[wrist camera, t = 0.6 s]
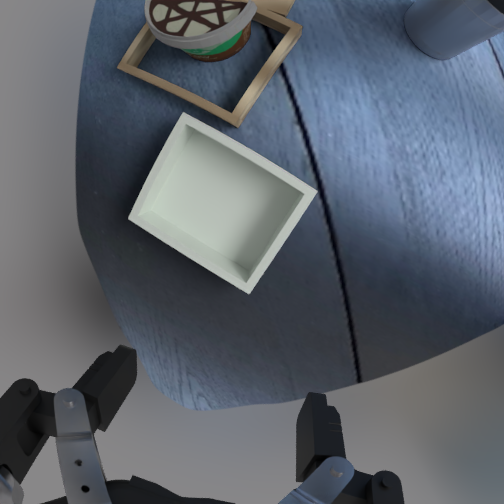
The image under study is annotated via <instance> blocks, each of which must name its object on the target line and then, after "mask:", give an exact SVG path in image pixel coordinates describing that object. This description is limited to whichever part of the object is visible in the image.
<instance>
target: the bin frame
mask: <svg viewBox="0 0 504 504" xmlns="http://www.w3.org/2000/svg"><path fill="white" fill-rule="evenodd" d="M224 1H234V2H246V3H248V1H245V0H224ZM256 6H257V10H256V13H255V15H254V16H253V18H252V20H254V21H257V22H259V23H261V24H263V25H266V26H268V27H270V28H272V29H274V30H276V31H278V32H280V33H283V34H285V36H284V38H283V39H282V40H281V42H280V43H279V45H278V46H277V47H276V49H275V50H274V51H273V53H272V54H271V56H270V57H269V58H268V60H267V61H266V63H265V64H264V66H263V67H262V68H261V70H260V71H259V73H258V74H257V76H256V77H255V79H254V80H253V82H252V83H251V85H250V86H249V88H248V89H247V91H246V92H245V94H244V95H243V97H242V98H241V100H240V101H239V103H238V104H237V106H236V107H235V109H234V111H233V112H232V113H230V112H228V111H226V110H224V109H223V108H221V107H219V106H217V105H215V104H213V103H211V102H209V101H207V100H205V99H203V98H201V97H199V96H197V95H195V94H193V93H191V92H189V91H187V90H185V89H183V88H181V87H179V86H177V85H174V84H172V83H170V82H168V81H166V80H164V79H161V78H159V77H157V76H155V75H152V74H150V73H148V72H145V71H143V70H141V69H138V68H137V67H138V65H139V63H140V62H141V60H142V59H143V57H144V55H145V54H146V52H147V51H148V49H149V48H150V46H151V45H152V43H153V42H154V40H155V39H156V37H155V36H154V35H153V33H152V32H151V30H150V28H149V26H148V24H147V22H146V24H145V25H144V26H143V28H142V29H141V31H140V32H139V34H138V35H137V36H136V38H135V39H134V41H133V42H132V44H131V46H130V47H129V49H128V50H127V52H126V53H125V55H124V57H123V58H122V60H121V61H120V63H119V65H118V66H117V68H118V69H120V70H122V71H124V72H126V73H128V74H130V75H133V76H135V77H137V78H139V79H142V80H144V81H146V82H148V83H151V84H153V85H155V86H157V87H159V88H161V89H164V90H166V91H168V92H170V93H172V94H174V95H176V96H178V97H180V98H182V99H184V100H186V101H188V102H190V103H192V104H194V105H196V106H198V107H200V108H202V109H204V110H206V111H208V112H210V113H211V114H213V115H215V116H217V117H219V118H221V119H223V120H224V121H226V122H228V123H230V124H232V125H234V126H235V127H237V128H239V126H240V125H241V123H242V121H243V120H244V118H245V117H246V115H247V114H248V112H249V111H250V109H251V107H252V106H253V104H254V103H255V101H256V100H257V98H258V97H259V95H260V94H261V92H262V91H263V89H264V88H265V86H266V85H267V83H268V82H269V80H270V79H271V77H272V76H273V74H274V73H275V72H276V70H277V69H278V67H279V66H280V64H281V63H282V62H283V60H284V59H285V57H286V56H287V54H288V53H289V52H290V50H291V49H292V48H293V46H294V45H295V43H296V42H297V41H298V39H299V38H300V37H301V34H302V27H303V26H301V25H299V24H297V23H295V22H293V21H291V20H289V19H287V18H285V17H283V16H281V15H279V14H276V13H274V12H272V11H269V10H267V9H265V8H262V7H260V6H258V5H256Z"/></svg>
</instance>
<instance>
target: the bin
mask: <svg viewBox="0 0 504 504" xmlns="http://www.w3.org/2000/svg"><path fill="white" fill-rule="evenodd" d="M317 192H318V191H316V190H315V189H313V188H312V187H310V186H309V185H307V184H306V183H304V182H303V181H301V180H300V179H298V178H296V177H295V176H293V175H292V174H290V173H289V172H287V171H285V170H284V169H282V168H281V167H279V166H277V165H276V164H274V163H272V162H271V161H269V160H268V159H266V158H264V157H263V156H261V155H259V154H258V153H256V152H254V151H253V150H251V149H249V148H247V147H246V146H244V145H242V144H241V143H239V142H237V141H235V140H234V139H232V138H230V137H228V136H227V135H225V134H223V133H221V132H219V131H218V130H216V129H214V128H212V127H210V126H208V125H207V124H205V123H203V122H201V121H199V120H197V119H195V118H193V117H192V116H190V115H188V114H186V113H184V112H183V113H182V115H181V117H180V118H179V120H178V122H177V124H176V125H175V127H174V129H173V131H172V132H171V134H170V136H169V138H168V139H167V141H166V143H165V145H164V147H163V149H162V150H161V152H160V154H159V156H158V158H157V160H156V162H155V164H154V166H153V168H152V170H151V171H150V173H149V175H148V177H147V179H146V181H145V183H144V186H143V188H142V190H141V192H140V194H139V196H138V198H137V200H136V202H135V204H134V207H133V209H132V211H131V213H130V215H129V218H128V219H129V220H131V221H132V222H134V223H135V224H137V225H138V226H140V227H141V228H143V229H145V230H146V231H148V232H149V233H151V234H152V235H154V236H155V237H157V238H159V239H160V240H162V241H163V242H165V243H166V244H168V245H170V246H171V247H173V248H174V249H176V250H178V251H179V252H181V253H182V254H184V255H185V256H187V257H189V258H190V259H192V260H194V261H195V262H197V263H198V264H200V265H202V266H203V267H205V268H206V269H208V270H210V271H211V272H213V273H215V274H216V275H218V276H220V277H221V278H223V279H225V280H226V281H228V282H229V283H231V284H233V285H234V286H236V287H238V288H239V289H241V290H243V291H244V292H246V293H248V294H250V292H251V291H252V289H253V288H254V286H255V285H256V284H257V282H258V281H259V279H260V278H261V276H262V275H263V273H264V272H265V270H266V269H267V267H268V266H269V264H270V263H271V261H272V260H273V258H274V257H275V255H276V254H277V252H278V251H279V249H280V248H281V246H282V245H283V243H284V242H285V240H286V239H287V237H288V236H289V234H290V233H291V231H292V230H293V228H294V227H295V225H296V224H297V222H298V221H299V219H300V218H301V216H302V215H303V213H304V212H305V210H306V209H307V207H308V206H309V204H310V202H311V201H312V199H313V198H314V196H315V195H316V193H317Z"/></svg>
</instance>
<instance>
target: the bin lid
mask: <svg viewBox="0 0 504 504" xmlns="http://www.w3.org/2000/svg"><path fill="white" fill-rule="evenodd" d="M245 1H249V0H245ZM251 1H254V3H255V4H256V5H258V6H260V7H262V8H265V9H267V10H269V11H272V12H274V13H276V14H279V15H281V16H283V17H285V18H286V16H287V15H288V13H289V11H290V9H291V7H292V5H293V4H294V2H295V0H251Z"/></svg>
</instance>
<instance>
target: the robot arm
mask: <svg viewBox="0 0 504 504" xmlns="http://www.w3.org/2000/svg"><path fill="white" fill-rule="evenodd" d="M404 25H405V29H406V31H407V34H408V35H409V37H410V38H411V40H412V41H413V42H414V44H415V45H416V46H417V47H418V48H419V49H420V50H422V51H423V52H424V53H426V54H427V55H429V56H431V57H433V58H436V59H440V60H448V59H451V58H453V57H455V56H457V55H459V54H460V53H462V52H464V51H466V50H468V49H470V48H472V47H474V46H476V45H478V44H480V43H482V42H484V41H486V40H488V39H489V38H491V37H493V36H495V35H497V34H500V33H502V32H504V0H416V1H415V2H414V3H413V4H412V5H411V7H410V8H409V9H408V10H407V11H406V13H405V16H404ZM136 377H137V353H136V350H135V349H132V348H129V347H126V346H123V345H119V346H118V348H117V349H116V350H115V351H114V352H113V353H112V352H109V351H107V352H106V353H104V354H102V355H100V356H99V357H98V358H97V359H96V360H95V361H94V363H93V364H92V365H91V366H90V367H89V369H88V370H87V371H86V372H85V374H83V376H82V377H81V378H80V379H79V380H78V382H77V383H76V384H75V385H74V386H73V387H72V388H66V389H62V390H60V391H58V392H57V393H51V392H46V391H42V390H39V388H38V385H37V384H36V383H35V382H34V381H33V380H31V379H26V378H24V379H19V380H17V381H15V382H14V383H13V384H12V385H11V387H10V388H9V389H8V390H7V391H6V392H5V393H4V395H3V396H2V397H1V398H0V504H22V501H23V497H24V492H23V489H22V487H21V486H20V484H21V482H22V481H23V479H24V477H25V476H26V474H27V472H28V471H29V469H30V467H31V466H32V463H33V462H34V461H35V459H36V457H37V456H38V454H39V452H40V451H41V449H42V447H43V446H44V444H45V443H46V441H47V440H48V438H49V436H53V437H56V446H57V453H58V458H59V464H60V469H61V474H62V479H63V484H64V488H65V492H66V496H64V497H61V498H58V499H55V500H52V501H48V502H45V503H41V504H235V503H230V502H225V501H220V500H215V499H210V498H188V497H181V496H178V495H176V494H174V493H172V492H171V491H169V490H167V489H165V488H163V487H162V486H160V485H158V484H156V483H153V482H150V481H147V480H145V479H142V478H139V477H136V476H132V478H131V480H130V481H129V480H111V481H107V478H106V476H105V473H104V470H103V467H102V464H101V460H100V456H99V453H98V449H97V445H96V441H95V437H94V433H95V431H96V430H97V429H99V430H102V431H104V432H105V431H106V429H107V428H108V426H109V424H110V423H111V421H112V419H113V418H114V416H115V414H116V413H117V411H118V410H119V408H120V407H121V405H122V403H123V402H124V400H125V398H126V397H127V395H128V394H129V392H130V390H131V389H132V387H133V386H134V384H135V381H136ZM296 482H303V483H302V484H301V485H300V486H299V487H298V488H296V489H294V490H293V491H291V492H290V493H289V494H288V495H287V496H286V497H285V498H284V499H282V500H281V501H280V502H279V503H278V504H404V498H403V492H402V485H401V481H400V479H399V477H398V476H397V475H396V474H394V473H393V472H390V471H379V472H377V473H376V474H375V475H374V476H373V475H370V474H366V473H363V472H359V471H357V470H355V469H354V467H353V465H352V464H351V463H350V462H349V461H348V460H347V459H346V455H345V448H344V441H343V434H342V427H341V420H340V415H339V413H338V412H337V410H336V408H335V407H334V406H327V399H326V395H325V394H319V393H312V392H309V393H308V395H307V397H306V399H305V402H304V404H303V406H302V408H301V410H300V413H299V415H298V419H297V424H296Z"/></svg>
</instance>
